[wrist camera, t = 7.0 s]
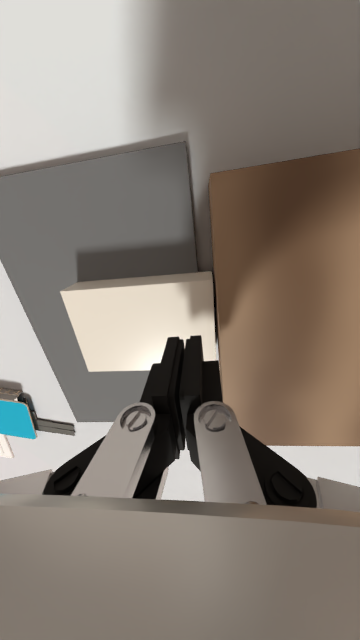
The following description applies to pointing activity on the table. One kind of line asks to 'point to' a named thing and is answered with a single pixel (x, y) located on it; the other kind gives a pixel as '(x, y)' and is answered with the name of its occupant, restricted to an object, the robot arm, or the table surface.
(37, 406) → the table surface
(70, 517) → the robot arm
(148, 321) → the cream flat block
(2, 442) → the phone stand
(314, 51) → the table surface
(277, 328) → the platform
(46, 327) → the mat
